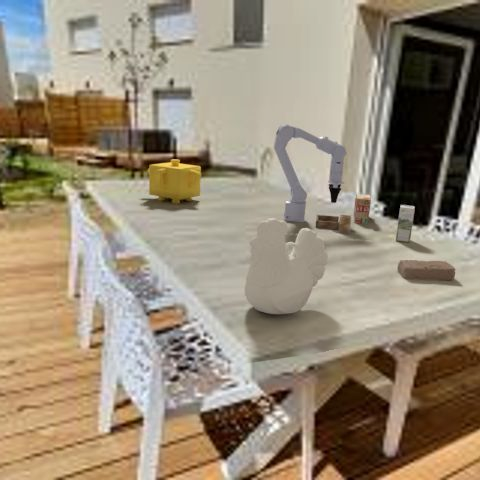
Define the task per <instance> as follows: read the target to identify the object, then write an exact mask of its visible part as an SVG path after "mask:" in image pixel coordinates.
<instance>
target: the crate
mask: <svg viewBox="0 0 480 480" xmlns="http://www.w3.org/2000/svg"><path fill="white" fill-rule="evenodd" d="M315 220H316V221H315V228H319V229H328V230H329V229H331V230H332V229H339V220H340V215H339V216H337V215H335V216H334V215H325V214H316V218H315Z"/></svg>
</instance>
